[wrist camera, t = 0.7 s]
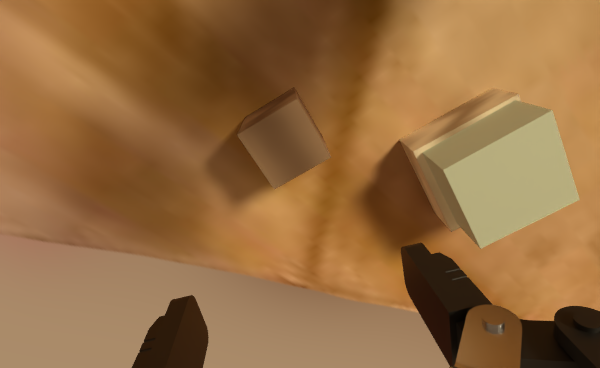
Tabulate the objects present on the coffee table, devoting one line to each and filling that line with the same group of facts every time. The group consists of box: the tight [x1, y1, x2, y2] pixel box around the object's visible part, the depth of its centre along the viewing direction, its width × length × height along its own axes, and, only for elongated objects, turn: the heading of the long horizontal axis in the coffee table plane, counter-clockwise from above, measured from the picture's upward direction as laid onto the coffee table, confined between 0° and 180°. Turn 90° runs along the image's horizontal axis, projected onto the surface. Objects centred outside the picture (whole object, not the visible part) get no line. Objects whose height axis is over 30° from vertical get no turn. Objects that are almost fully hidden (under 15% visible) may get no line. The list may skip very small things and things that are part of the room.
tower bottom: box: [399, 88, 521, 232], centre depth 31 cm, size 9×9×4 cm
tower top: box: [422, 100, 580, 249], centre depth 27 cm, size 8×8×4 cm
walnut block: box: [237, 88, 331, 189], centre depth 28 cm, size 5×5×6 cm
